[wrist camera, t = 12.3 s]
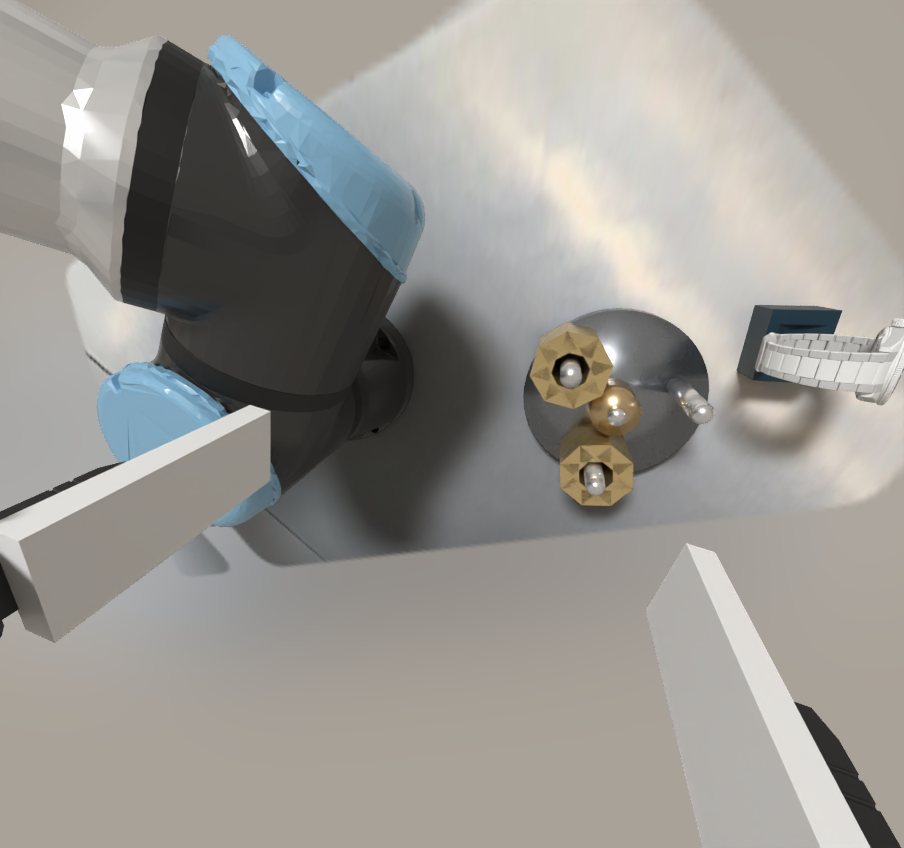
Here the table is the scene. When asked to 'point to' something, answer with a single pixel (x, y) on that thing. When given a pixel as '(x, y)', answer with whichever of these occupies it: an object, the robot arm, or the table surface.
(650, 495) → the table surface
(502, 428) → the table surface
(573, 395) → the planet gear
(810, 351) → the watch
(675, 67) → the table surface
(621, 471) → the planet gear
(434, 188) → the table surface
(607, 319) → the carrier
